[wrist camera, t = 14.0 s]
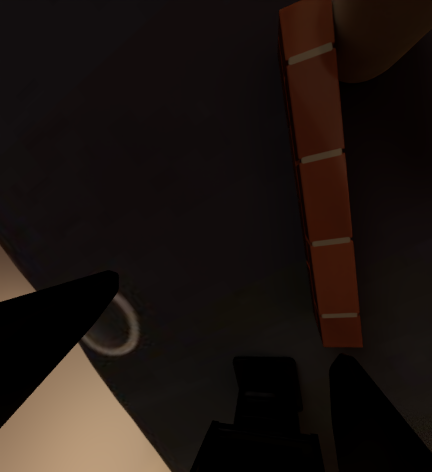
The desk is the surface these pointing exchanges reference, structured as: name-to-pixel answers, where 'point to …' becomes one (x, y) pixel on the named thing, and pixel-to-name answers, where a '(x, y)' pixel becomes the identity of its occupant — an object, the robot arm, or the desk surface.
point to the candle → (376, 34)
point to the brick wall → (320, 166)
